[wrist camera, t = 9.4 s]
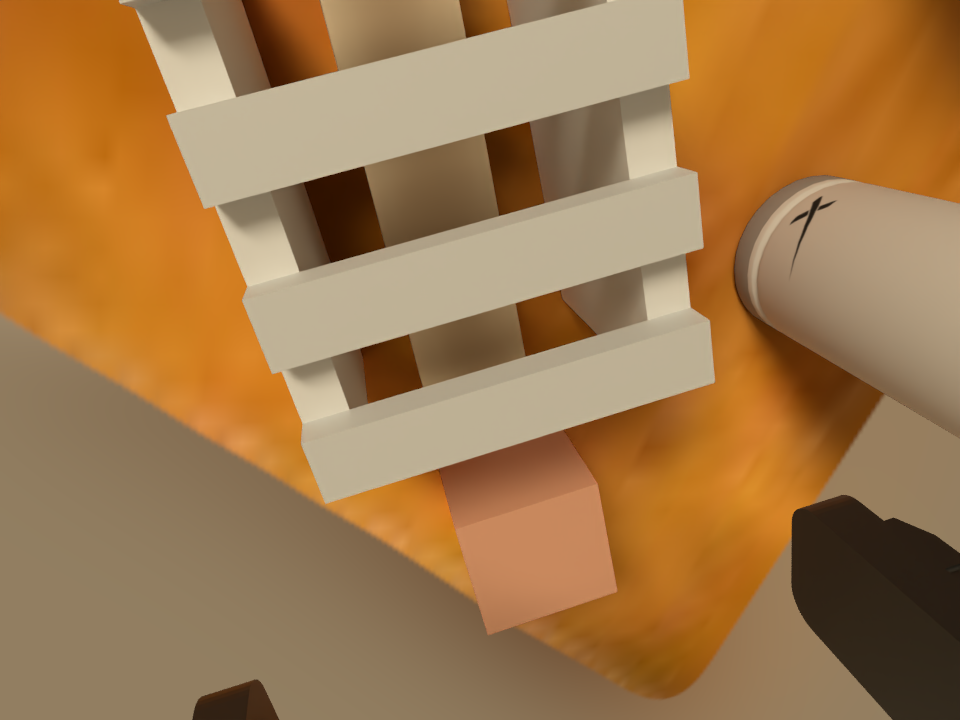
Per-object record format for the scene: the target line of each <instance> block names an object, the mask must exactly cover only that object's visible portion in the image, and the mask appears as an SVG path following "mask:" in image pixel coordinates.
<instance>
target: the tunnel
mask: <svg viewBox="0 0 960 720" xmlns="http://www.w3.org/2000/svg"><path fill="white" fill-rule="evenodd" d="M119 2H120V4H122V5H126V6H129V7H133V8H135V9H136V11H137V14H138V16H139V19H140V21H141V24H142V26H143V29H144V31H145V34H146V36H147V39H148V41H149V44H150V46H151V49H152V51H153V54H154V56H155V59H156V61H157V64H158V66H159V68H160V71H161V73H162V76H163V78H164V81H165V83H166V86H167V88H168V91H169V93H170V96H171V98H172V101H173V103H174V106H175V108H176V111H177V112H176V113H173V114H170V115H166V117H167V119H168V121H169V124H170V126H171V129H172V131H173V134H174V136H175V138H176V141H177V143H178V146H179V148H180V151H181V153H182V156H183V158H184V160H185V163H186V165H187V168H188V170H189V173H190V175H191V177H192V180H193V182H194V185H195V187H196V190H197V192H198V194H199V197H200V199H201V202H202V204H203V207H204V209H206V208H209V207H213V206H215V207H216V210H217V212H218V215H219V217H220V220H221V222H222V225H223V227H224V230H225V232H226V235H227V237H228V240H229V242H230V245H231V247H232V250H233V252H234V254H235V257H236V259H237V262H238V264H239V267H240V269H241V272H242V274H243V277H244V279H245V282H246V284H247V289H246V292H245V294H244V297H243V299H242V302H243V304H244V306H245V309H246V311H247V314H248V316H249V319H250V321H251V323H252V326H253V328H254V331H255V333H256V336H257V338H258V340H259V343H260V345H261V348H262V350H263V353H264V355H265V358H266V360H267V362H268V365H269V367H270V370H271V372H272V374H274V373H278V372H281V371H282V374H283V376H284V379H285V381H286V383H287V386H288V388H289V391H290V393H291V396H292V398H293V401H294V403H295V406H296V408H297V411H298V413H299V416H300V418H301V421H302V423H303V426H302V438H301V445H302V448H303V450H304V452H305V455H306V457H307V460H308V462H309V465H310V467H311V469H312V472H313V474H314V477H315V479H316V482H317V484H318V486H319V489H320V491H321V494H322V496H323V499H324V501H325V504H326V503H329V502H333V501H336V500H339V499H342V498H345V497H349V496H352V495H355V494H358V493H361V492H365V491H368V490H371V489H374V488H378V487H381V486H384V485H387V484H390V483H394V482H397V481H400V480H403V479H406V478H410V477H413V476H416V475H419V474H423V473H426V472H429V471H432V470H435V469H439V468H442V467H445V466H448V465H451V464H455V463H458V462H461V461H464V460H468V459H471V458H474V457H477V456H480V455H484V454H487V453H490V452H493V451H497V450H500V449H503V448H506V447H509V446H513V445H516V444H519V443H522V442H525V441H529V440H532V439H535V438H538V437H542V436H545V435H548V434H551V433H554V432H558V431H561V430H564V429H567V428H570V427H574V426H577V425H580V424H583V423H587V422H590V421H593V420H596V419H599V418H603V417H606V416H609V415H612V414H615V413H619V412H622V411H625V410H628V409H632V408H635V407H638V406H641V405H644V404H648V403H651V402H654V401H657V400H660V399H664V398H667V397H670V396H673V395H677V394H680V393H683V392H686V391H689V390H693V389H696V388H699V387H702V386H706V385H709V384H712V383H715V377H714V366H713V354H712V342H711V330H710V320H708V319H707V318H706V317H704V316H703V315H701V314H700V313H698V312H697V311H695V310H694V309H692V308H691V307H690V297H689V287H688V277H687V266H686V256H685V253H688V252H692V251H695V250H699V249H702V248H704V246H703V234H702V222H701V210H700V199H699V187H698V175H697V172H694V171H691V170H688V169H684V168H681V167H677V163H676V152H675V142H674V132H673V121H672V111H671V101H670V90H669V84H671V83H675V82H678V81H682V80H686V79H689V67H688V55H687V44H686V32H685V20H684V8H683V0H507V3H508V9H509V14H510V20H511V25H512V27H509V28H505V29H501V30H497V31H494V32H490V33H486V34H482V35H478V36H474V37H470V38H466V39H462V40H458V41H454V42H450V43H447V44H443V45H439V46H435V47H431V48H427V49H423V50H419V51H415V52H411V53H407V54H403V55H400V56H396V57H392V58H388V59H384V60H380V61H376V62H372V63H368V64H364V65H360V66H356V67H353V68H349V69H345V70H341V71H337V72H333V73H329V74H325V75H321V76H317V77H313V78H309V79H306V80H302V81H298V82H294V83H290V84H286V85H282V86H278V87H274V88H271V85H270V82H269V80H268V77H267V74H266V71H265V68H264V65H263V62H262V59H261V56H260V53H259V50H258V47H257V44H256V41H255V38H254V35H253V32H252V29H251V27H250V24H249V21H248V18H247V15H246V12H245V9H244V6H243V3H242V0H119ZM526 122H530V127H531V133H532V138H533V143H534V149H535V154H536V159H537V165H538V170H539V176H540V181H541V186H542V192H543V197H544V202H545V203H544V204H541V205H537V206H534V207H530V208H526V209H523V210H519V211H516V212H512V213H509V214H505V215H501V216H498V217H494V218H491V219H487V220H484V221H480V222H476V223H473V224H469V225H466V226H462V227H459V228H455V229H451V230H448V231H444V232H441V233H437V234H434V235H430V236H426V237H423V238H419V239H416V240H412V241H409V242H405V243H401V244H398V245H394V246H391V247H387V248H384V249H380V250H376V251H373V252H369V253H366V254H362V255H359V256H355V257H351V258H348V259H344V260H341V261H337V262H334V263H331V262H330V259H329V256H328V253H327V250H326V247H325V244H324V241H323V239H322V236H321V233H320V230H319V227H318V224H317V221H316V218H315V215H314V212H313V209H312V206H311V203H310V200H309V197H308V194H307V191H306V188H305V186H304V183H303V182H306V181H310V180H314V179H317V178H321V177H325V176H328V175H332V174H336V173H340V172H343V171H347V170H351V169H354V168H358V167H362V166H366V165H369V164H373V163H377V162H381V161H384V160H388V159H392V158H395V157H399V156H403V155H407V154H410V153H414V152H418V151H422V150H425V149H429V148H433V147H436V146H440V145H444V144H448V143H451V142H455V141H459V140H462V139H466V138H470V137H474V136H477V135H481V134H485V133H489V132H492V131H496V130H500V129H503V128H507V127H511V126H515V125H518V124H522V123H526ZM558 290H561V294H562V299H563V300H564V301H565V302H566V303H567V304H568V305H569V306H570V307H571V308H572V309H573V310H574V311H575V312H576V313H577V314H578V316H579V317H580V318H581V319H582V320H583V321H584V322H585V323H586V324H587V325H588V326H589V327H590V328H591V329H592V330H593V331H594V332H595V333H596V334H597V336H593V337H590V338H587V339H583V340H580V341H577V342H573V343H570V344H567V345H563V346H560V347H557V348H553V349H550V350H547V351H543V352H540V353H537V354H533V355H530V356H527V357H523V358H520V359H517V360H513V361H510V362H507V363H503V364H500V365H497V366H493V367H490V368H487V369H483V370H480V371H477V372H473V373H470V374H467V375H463V376H460V377H457V378H453V379H450V380H446V381H443V382H440V383H436V384H433V385H430V386H426V387H423V388H420V389H416V390H413V391H410V392H406V393H403V394H400V395H396V396H393V397H390V398H386V399H383V400H380V401H376V402H373V403H370V404H368V401H367V391H366V381H365V372H364V362H363V356H362V353H361V350H360V348H363V347H367V346H370V345H373V344H377V343H380V342H384V341H387V340H391V339H394V338H397V337H401V336H404V335H408V334H411V333H415V332H418V331H421V330H425V329H428V328H432V327H435V326H438V325H442V324H445V323H449V322H452V321H456V320H459V319H462V318H466V317H469V316H473V315H476V314H480V313H483V312H486V311H490V310H493V309H497V308H500V307H504V306H507V305H510V304H514V303H517V302H521V301H524V300H527V299H531V298H534V297H538V296H541V295H545V294H548V293H551V292H555V291H558Z"/></svg>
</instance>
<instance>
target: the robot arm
mask: <svg viewBox="0 0 960 720" xmlns="http://www.w3.org/2000/svg"><path fill="white" fill-rule="evenodd" d="M791 583H792V592H793V595H794V599H795V602H796V604H797V607H798V609H799V611H800V613H801V615H802V616H803V618H804V620H805V621H806V622H807V624H808V625H809V626H810V628H811V629H812V630H813V631H814V632H815V634H816V635H817V636H818V637H819V638H820V639H821V640H822V641H823V642H824V644H825V645H826V646H827V647H828V648H829V649H830V650H831V651H832V653H833V654H834V655H835V656H836V657H837V658H838V659H839V660H840V661H841V663H842V664H843V665H844V666H845V667H846V668H847V669H848V670H849V672H850V673H851V674H852V675H853V676H854V677H855V678H856V679H857V680H858V682H859V683H860V684H861V685H862V686H863V687H864V688H865V689H866V690H867V692H868V693H869V694H870V695H871V696H872V697H873V698H874V699H875V700H876V702H877V703H878V704H879V705H880V706H881V707H882V708H883V709H884V710H885V712H886V713H887V714H888V715H889V716H890V717H891V718H892V719H893V720H960V553H959V552H957V551H956V550H955V549H953V548H952V547H951V546H949V545H948V544H946V543H945V542H943V541H942V540H941V539H940V538H938V537H937V536H936V535H934V534H931V533H929V532H926V531H924V530H922V529H919V528H917V527H915V526H912V525H910V524H907V523H905V522H903V521H900V520H898V519H895V518H892V519H888V520H885V521H883V520H882V519H881V518H879V517H878V516H877V515H876V514H874V513H873V512H872V511H870V510H869V509H868V508H867V507H865V506H864V505H863V504H862V503H860V502H859V501H858V500H856V499H854V498H853V497H851V496H847V495H841V496H838V497H835V498H832V499H828V500H825V501H822V502H819V503H816V504H813V505H810V506H806V507H803V508H800V509H797V510H796V511H795V512H794V514H793V517H792V581H791ZM193 720H279V719H278V716H277V714H276V712H275V710H274V708H273V705H272V703H271V701H270V699H269V697H268V695H267V693H266V691H265V689H264V687H263V685H262V684H261V682H260V681H258V680H253V681H250V682H246V683H243V684H240V685H237V686H234V687H231V688H228V689H224V690H222V691H218V692H215V693H212V694H208V695H205V696H202V697H201V698H200V699H199V700H198V701H197V704H196V706H195V710H194V714H193Z"/></svg>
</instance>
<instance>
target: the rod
mask: <svg viewBox="0 0 960 720" xmlns="http://www.w3.org/2000/svg"><path fill="white" fill-rule="evenodd" d="M320 4H321V8H322V11H323V15H324V19H325V23H326V26H327V30H328V34H329V38H330V42H331V45H332V49H333V53H334V57H335V60H336V64H337V68H338V71H341V70H345V69H349V68H353V67H356V66H360V65H364V64H368V63H372V62H376V61H380V60H384V59H388V58H392V57H396V56H400V55H403V54H407V53H411V52H415V51H419V50H423V49H427V48H431V47H435V46H439V45H443V44H447V43H450V42H454V41H458V40H462V39H466V35H465V29H464V24H463V19H462V13H461V8H460V3H459V0H320ZM364 169H365V173H366V177H367V180H368V184H369V188H370V192H371V195H372V199H373V203H374V207H375V210H376V214H377V218H378V222H379V225H380V229H381V233H382V237H383V240H384V244H385V248H387V247H391V246H394V245H398V244H401V243H405V242H409V241H412V240H416V239H419V238H423V237H426V236H430V235H434V234H437V233H441V232H444V231H448V230H451V229H455V228H459V227H462V226H466V225H469V224H473V223H476V222H480V221H484V220H487V219H491V218H494V217H498V216H499V212H498V206H497V201H496V196H495V190H494V185H493V179H492V174H491V169H490V163H489V158H488V153H487V147H486V142H485V137H484V134H481V135H477V136H474V137H470V138H466V139H462V140H459V141H455V142H451V143H448V144H444V145H440V146H436V147H433V148H429V149H425V150H422V151H418V152H414V153H410V154H407V155H403V156H399V157H395V158H392V159H388V160H384V161H381V162H377V163H373V164H369V165H366V166H364ZM409 338H410V342H411V346H412V349H413V353H414V357H415V361H416V364H417V368H418V372H419V376H420V379H421V383H422V387H426V386H430V385H433V384H436V383H440V382H443V381H446V380H450V379H453V378H457V377H460V376H463V375H467V374H470V373H473V372H477V371H480V370H483V369H487V368H490V367H493V366H497V365H500V364H503V363H507V362H510V361H513V360H517V359H520V358H523V357H526V356H525V351H524V346H523V340H522V335H521V330H520V324H519V319H518V313H517V308H516V303H514V304H510V305H507V306H504V307H500V308H497V309H493V310H490V311H486V312H483V313H480V314H476V315H473V316H469V317H466V318H462V319H459V320H456V321H452V322H449V323H445V324H442V325H438V326H435V327H432V328H428V329H425V330H421V331H418V332H415V333H411V334H409Z"/></svg>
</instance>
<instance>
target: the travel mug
mask: <svg viewBox="0 0 960 720" xmlns="http://www.w3.org/2000/svg"><path fill="white" fill-rule="evenodd" d="M734 270H735V283H736V287H737V290H738V294H739V297H740V298H741V300H742V302H743V304H744V306H745V307H746V308H747V309H748V310H749V311H750V312H751V314H752V315H753V316H755V317H756V318H758V319H760V320H761V321H763V322H764V323H766V324H768V325H769V326H771V327H773V328H774V329H776V330H778V331H779V332H782V333H783V334H785V335H786V336H788V337H790V338H791V339H793V340H795V341H796V342H798V343H800V344H801V345H803V346H805V347H806V348H808V349H810V350H812V351H813V352H815V353H817V354H818V355H820V356H822V357H823V358H825V359H827V360H828V361H830V362H832V363H833V364H835V365H837V366H839V367H840V368H842V369H844V370H845V371H847V372H849V373H850V374H852V375H854V376H855V377H857V378H859V379H860V380H862V381H864V382H866V383H867V384H869V385H871V386H872V387H874V388H876V389H877V390H879V391H881V392H882V393H884V394H886V395H887V396H889V397H891V398H893V399H894V400H896V401H898V402H899V403H901V404H903V405H904V406H906V407H908V408H909V409H911V410H913V411H914V412H916V413H918V414H920V415H922V416H923V417H925V418H926V419H928V420H930V421H931V422H933V423H935V424H936V425H938V426H940V427H941V428H943V429H945V430H947V431H948V432H950V433H952V434H953V435H955V436H957V437H958V438H960V204H959V203H954V202H950V201H945V200H941V199H936V198H931V197H927V196H922V195H918V194H913V193H909V192H904V191H899V190H895V189H890V188H886V187H881V186H877V185H872V184H866V183H862V182H858V181H854V180H849V179H845V178H840V177H834V176H828V175H822V176H811V177H807V178H804V179H801V180H797V181H795V182H793V183H791V184H789V185H787V186H785V187H783V188H782V189H781V190H779V191H778V192H777V193H775V194H774V195H772V196H771V197H770V198H769V199H768V200H767V201H766V202H765V203H764V204H763V205H762V206H761V207H760V208H759V209H758V210H757V211H756V213H755V214H754V216H753V217H752V218H751V220H750V221H749V223H748V224H747V226H746V228H745V230H744V232H743V235H742V237H741V239H740V242H739V245H738V249H737V252H736V259H735V267H734Z"/></svg>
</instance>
